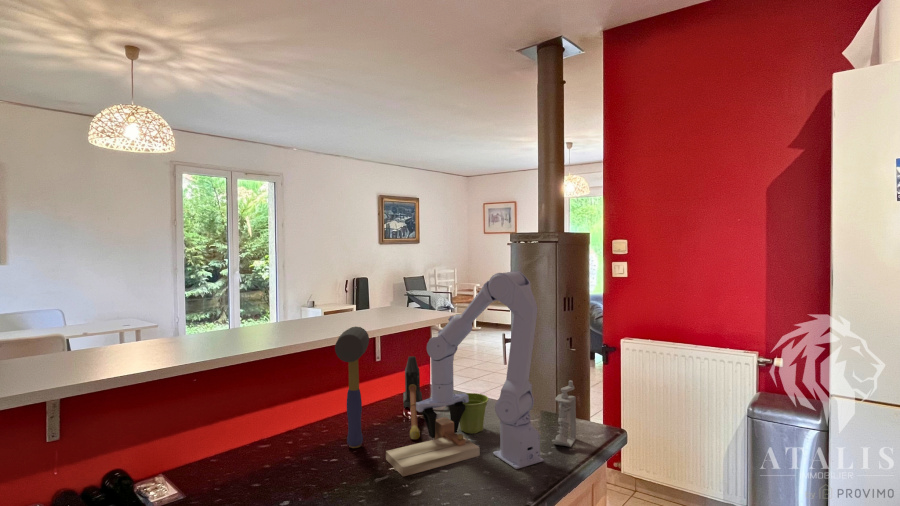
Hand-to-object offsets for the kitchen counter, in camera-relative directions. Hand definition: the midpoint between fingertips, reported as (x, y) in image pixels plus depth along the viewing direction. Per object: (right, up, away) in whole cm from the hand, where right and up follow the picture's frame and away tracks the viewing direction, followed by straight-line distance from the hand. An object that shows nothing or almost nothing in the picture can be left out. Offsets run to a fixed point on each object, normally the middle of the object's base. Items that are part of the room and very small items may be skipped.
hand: (443, 433), depth 126 cm
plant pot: (+8, -2, +7) cm, 11 cm away
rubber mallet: (-22, -2, -3) cm, 23 cm away
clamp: (+31, -1, -3) cm, 31 cm away
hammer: (-9, -2, +16) cm, 18 cm away
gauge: (+2, -2, -3) cm, 4 cm away
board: (-2, -2, -10) cm, 10 cm away
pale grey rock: (-2, -2, +26) cm, 26 cm away
